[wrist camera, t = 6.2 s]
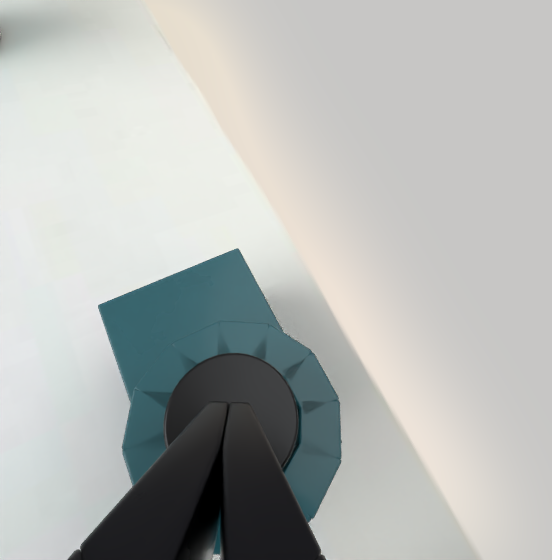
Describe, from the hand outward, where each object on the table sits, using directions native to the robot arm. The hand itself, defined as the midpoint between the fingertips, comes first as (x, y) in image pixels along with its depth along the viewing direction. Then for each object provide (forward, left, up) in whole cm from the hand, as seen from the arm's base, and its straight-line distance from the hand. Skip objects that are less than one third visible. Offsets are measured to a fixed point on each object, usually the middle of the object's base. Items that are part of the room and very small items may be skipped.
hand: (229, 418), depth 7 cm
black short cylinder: (0, 0, -3) cm, 3 cm away
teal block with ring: (+1, +2, -10) cm, 10 cm away
